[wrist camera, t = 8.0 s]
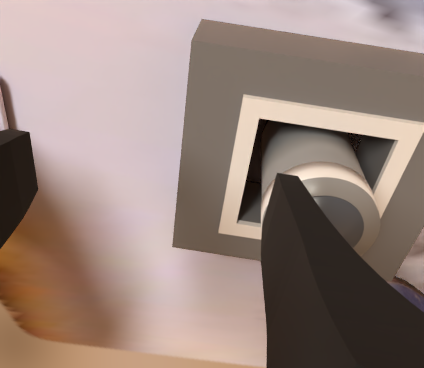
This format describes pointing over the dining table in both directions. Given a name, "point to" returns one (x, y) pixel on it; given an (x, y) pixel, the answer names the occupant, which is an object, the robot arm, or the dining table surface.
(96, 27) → the dining table surface
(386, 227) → the grey frame block
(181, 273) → the dining table surface
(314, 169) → the lens
